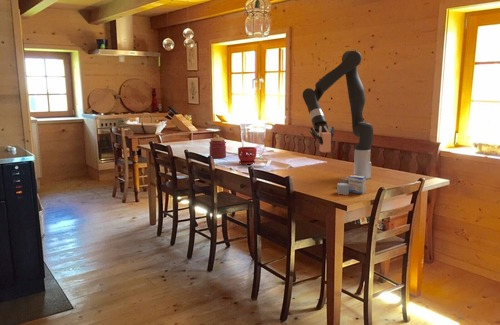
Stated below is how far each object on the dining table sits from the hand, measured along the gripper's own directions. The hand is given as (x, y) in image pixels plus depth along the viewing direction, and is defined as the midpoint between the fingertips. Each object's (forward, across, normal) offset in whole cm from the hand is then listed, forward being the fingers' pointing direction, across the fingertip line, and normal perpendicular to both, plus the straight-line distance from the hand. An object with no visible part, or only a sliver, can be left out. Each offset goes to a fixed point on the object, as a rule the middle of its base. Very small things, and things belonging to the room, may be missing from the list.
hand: (326, 143), depth 226 cm
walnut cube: (+17, +13, +19) cm, 28 cm away
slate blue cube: (+25, +5, +10) cm, 28 cm away
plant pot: (-41, -22, +77) cm, 90 cm away
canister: (-65, -37, +101) cm, 126 cm away
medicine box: (+25, +13, +11) cm, 30 cm away
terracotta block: (+2, 0, +5) cm, 5 cm away
